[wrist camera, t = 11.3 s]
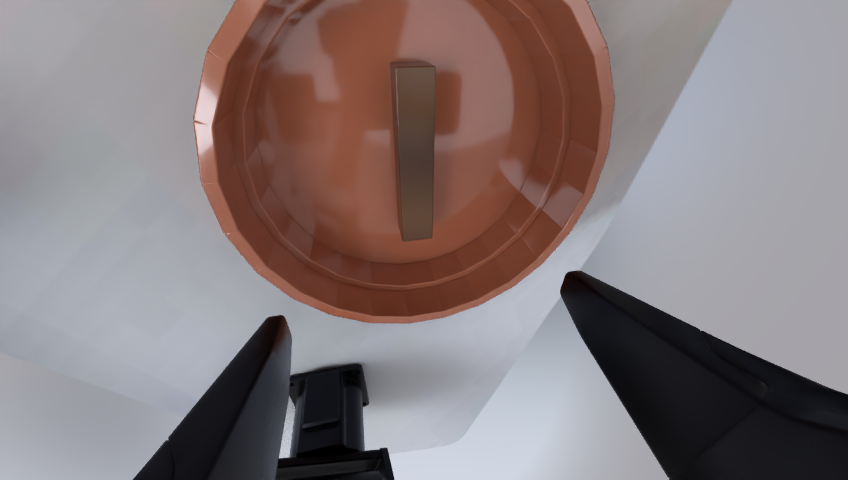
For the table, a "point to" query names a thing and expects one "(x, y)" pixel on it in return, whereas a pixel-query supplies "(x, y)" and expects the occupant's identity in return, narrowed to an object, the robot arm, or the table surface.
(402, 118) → the brown long rectangular block
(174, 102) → the table surface
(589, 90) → the bowl
